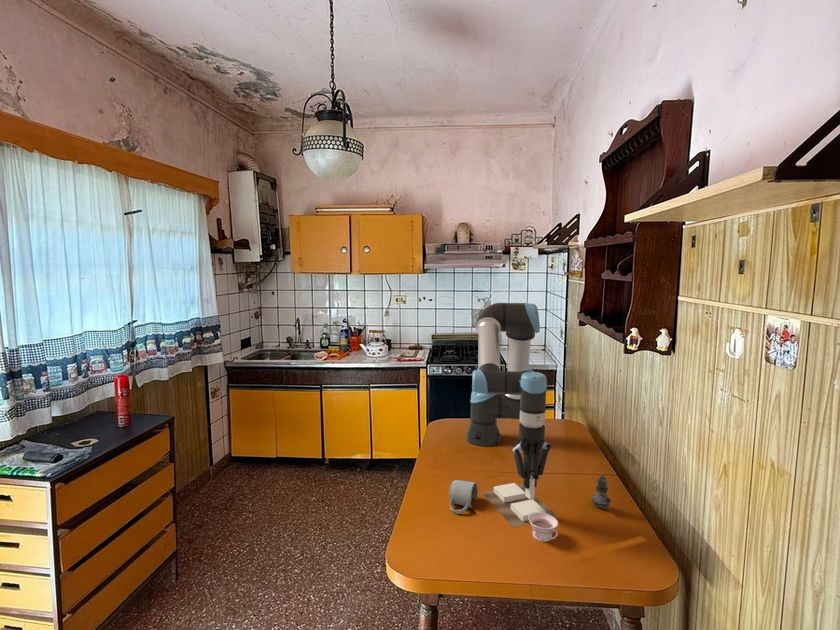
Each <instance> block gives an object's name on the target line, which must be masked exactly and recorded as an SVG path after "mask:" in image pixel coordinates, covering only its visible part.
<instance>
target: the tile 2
mask: <svg viewBox="0 0 840 630" xmlns="http://www.w3.org/2000/svg"><path fill="white" fill-rule="evenodd" d="M511 510H512V511H513V512H514V513H515V514H516V515H517V516H518V517H519V518H520V519H521V520H522V521H528V515H529V514H530V513H533V512H543V513H546V511H545V510H544V509H543V508H542V507H541V506H539V505H538V504H537V503H536V502H535V501H534V500H533V499H532V500H527V501H522V502H517V503H512V504H511Z"/></svg>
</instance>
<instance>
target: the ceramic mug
mask: <svg viewBox="0 0 840 630" xmlns="http://www.w3.org/2000/svg"><path fill="white" fill-rule="evenodd" d="M478 487H479V486H478V483H477V482H475V481H466V480H460V479H455V480H452V482H451V483H450V485H449V489H448V499H449V509H450V511H451V512H453V514H455V515H456V514H457V515H462V514H464V513H465V512H466V511H467V510H468V508H470V509H473V506H472V500H473V499H474V500H476V501H477V500H478V497H479V496H478V494H479V488H478ZM452 504H454V505H455V504H456V505H459V506H463V508H462V509H455V508H453V507H452Z"/></svg>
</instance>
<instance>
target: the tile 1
mask: <svg viewBox="0 0 840 630" xmlns="http://www.w3.org/2000/svg"><path fill="white" fill-rule="evenodd" d="M517 485H518V484H516V483H515V482H512V483H511V482H510V483H505V484H502V485H496V486H493V490H494V493H495V494H496V495H497V496H498V497H499V498H500V499H501V500H502V501H503V502H509V501H514V500H519V499H524V498H526V496H525V492H524V491H523V490H522V489H521V488H519V487H518V486H517Z"/></svg>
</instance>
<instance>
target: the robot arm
mask: <svg viewBox="0 0 840 630" xmlns="http://www.w3.org/2000/svg"><path fill="white" fill-rule="evenodd" d="M540 324H541V323H540V314H539V309H538V306H537V305H536V304H535V303H530V302H529V303H527V302H496V303H492V304H490V305H488V306H486V307H485V308H484V309H483V310H482V311H480V313H479V315H478V316H477V319H476V321H475V330H476V333H477V334H478V340H477V341H478V343H477V344H478V346H477V347H478V350H477V352H478V354H477V356H478V357H477V361H478V365H477V366H478V367H477V369H476V370H475V369H474V370H473V371H472V379H471V380H472V381H471V383H472V384H471V388H472V389H471V395H470V401H469V402H470V423H469V426H468V427H467V430H466V434H465V435H466V437H465V438H466V439H465V440H466V441H467V442H468V443H470V444H472V445H475V446H479V447H480V446H481V447H491V446H496V445H498V444H499V443H500V442H501V433H500V430H499V427H498V419H508V420H509V419H511V420H513V419H514V420H519V422H520V423H519V425H518V427H519V429H518V434H519V439H518V443H517V445H516V446H512V447H511V451H512V453H513V456H514V461H515V466H516V472H517V475H519V477H521V478H522V479H523V484H522V485H523V486H524V487H525V496H526V497H527V498H528V499H530V500H532V499H534V495H535V489H536V488H537V484H538V483H537V482H538V481H537V480H539V479H540V476H543V474H544V471H545V467H546V462H547V458H548V454H549V451H550V450H551V448H552V445H551V444H550V443H548V442H547V441H545V434H546V432H545V431H546V426H545V424H546V404H547V403H546V401H547V389H548V385H547V383H548V382H547V376H546V375H545V374H544V373H542V372H538V371H535V370H532V369H529V367H530V354H531V353H530V352H531V342H532V340H534V339H535V337H536V334H538V333H540V330H541V329H540V328H541V325H540ZM501 332H503V333H505V336H506V338H508V339H509V340H508V353H507V354H508V355H507V357H508V359H507V370H501V355H500V336H499V335H500V333H501ZM522 455H523V456H522Z"/></svg>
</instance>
